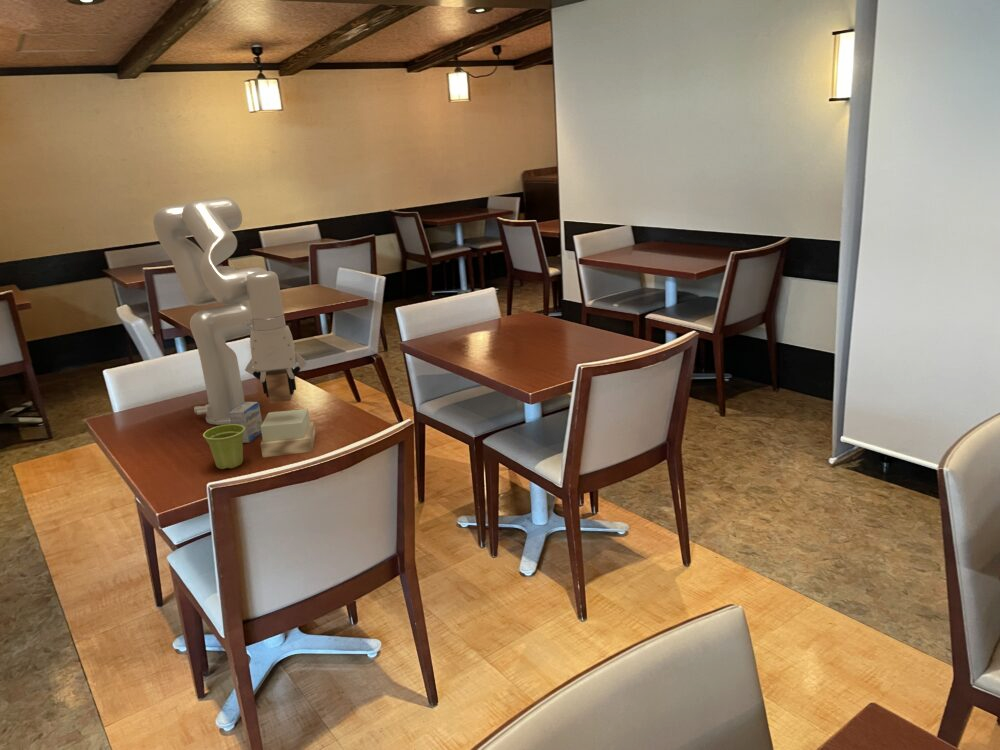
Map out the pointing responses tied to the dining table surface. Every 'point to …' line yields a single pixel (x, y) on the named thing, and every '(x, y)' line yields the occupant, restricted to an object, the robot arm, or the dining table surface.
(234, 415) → the medicine box
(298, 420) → the tower top block
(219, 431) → the plant pot
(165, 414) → the dining table surface
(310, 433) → the tower base block
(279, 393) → the walnut block
